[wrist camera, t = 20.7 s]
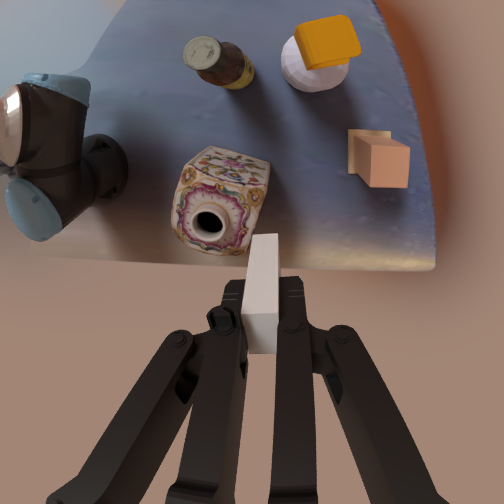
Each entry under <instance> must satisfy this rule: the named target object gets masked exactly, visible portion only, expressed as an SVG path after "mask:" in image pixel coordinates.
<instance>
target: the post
mask: <svg viewBox="0 0 504 504" xmlns="http://www.w3.org/2000/svg"><path fill="white" fill-rule="evenodd" d="M354 135H365V136H382V137H388V138H390V139H391V132H390V131H377V130H359V129H348V173H349V174H358V173H357V172H356V171H355V170H354V169H353V168H354Z"/></svg>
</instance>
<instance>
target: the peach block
mask: <svg viewBox="0 0 504 504" xmlns="http://www.w3.org/2000/svg"><path fill="white" fill-rule="evenodd" d="M409 160H410V147H408V146H406V145H403V144H401V143H399V142H397V141H395V140H393V139H390V138H388V137H382V136H365V135H354V168H353V169H354V170H355V171H356V172H357V173H358V175H359V176H360V177H361V178H362V179H363V180H364V181H365V182H366V183H367V184H368V186H369V187H391V188H407V185H408V174H409Z"/></svg>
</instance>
